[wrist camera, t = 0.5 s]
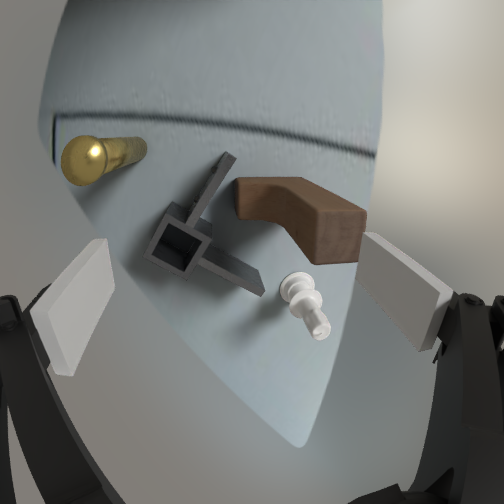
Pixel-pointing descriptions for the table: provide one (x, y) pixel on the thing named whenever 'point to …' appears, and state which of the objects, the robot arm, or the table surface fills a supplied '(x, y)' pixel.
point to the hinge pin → (99, 157)
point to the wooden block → (304, 216)
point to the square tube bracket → (201, 240)
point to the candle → (305, 303)
